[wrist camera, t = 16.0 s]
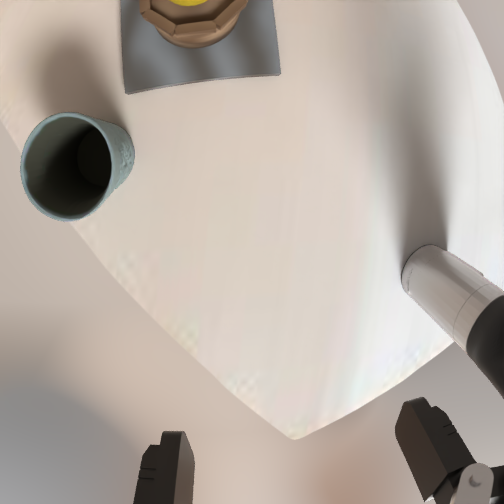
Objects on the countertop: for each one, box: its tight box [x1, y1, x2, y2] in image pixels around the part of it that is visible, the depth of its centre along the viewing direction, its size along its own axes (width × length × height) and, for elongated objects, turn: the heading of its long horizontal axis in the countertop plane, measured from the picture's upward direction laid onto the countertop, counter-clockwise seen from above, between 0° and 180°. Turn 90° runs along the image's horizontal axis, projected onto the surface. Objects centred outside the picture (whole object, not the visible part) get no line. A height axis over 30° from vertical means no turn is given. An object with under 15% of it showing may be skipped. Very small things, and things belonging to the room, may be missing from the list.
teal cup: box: [20, 112, 135, 221], centre depth 30 cm, size 10×10×12 cm
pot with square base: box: [121, 0, 281, 95], centre depth 26 cm, size 18×18×9 cm
